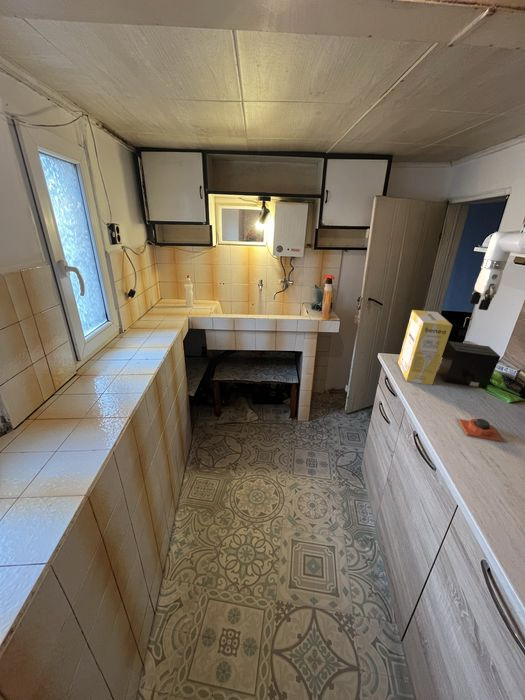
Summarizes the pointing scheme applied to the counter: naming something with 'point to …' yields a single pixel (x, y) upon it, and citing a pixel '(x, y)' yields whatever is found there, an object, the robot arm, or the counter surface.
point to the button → (482, 424)
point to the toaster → (468, 363)
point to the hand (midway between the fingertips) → (478, 306)
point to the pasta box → (423, 346)
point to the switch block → (479, 430)
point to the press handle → (471, 380)
